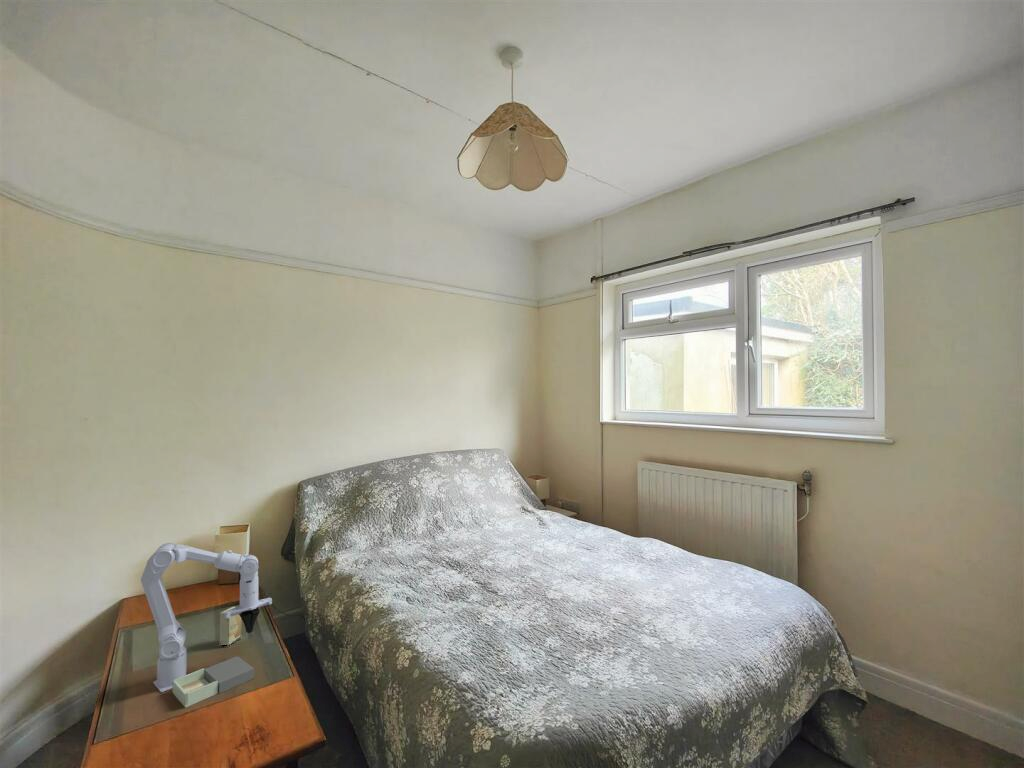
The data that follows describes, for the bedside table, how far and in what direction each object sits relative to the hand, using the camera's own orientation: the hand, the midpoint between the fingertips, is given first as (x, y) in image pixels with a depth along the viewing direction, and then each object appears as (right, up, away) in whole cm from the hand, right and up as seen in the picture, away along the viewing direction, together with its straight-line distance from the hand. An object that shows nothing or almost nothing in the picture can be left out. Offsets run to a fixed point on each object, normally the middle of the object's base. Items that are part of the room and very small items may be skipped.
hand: (249, 631), depth 158 cm
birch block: (-7, -8, -18) cm, 21 cm away
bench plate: (-1, -10, -10) cm, 14 cm away
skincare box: (-16, -13, +15) cm, 25 cm away
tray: (-7, -9, -17) cm, 21 cm away
